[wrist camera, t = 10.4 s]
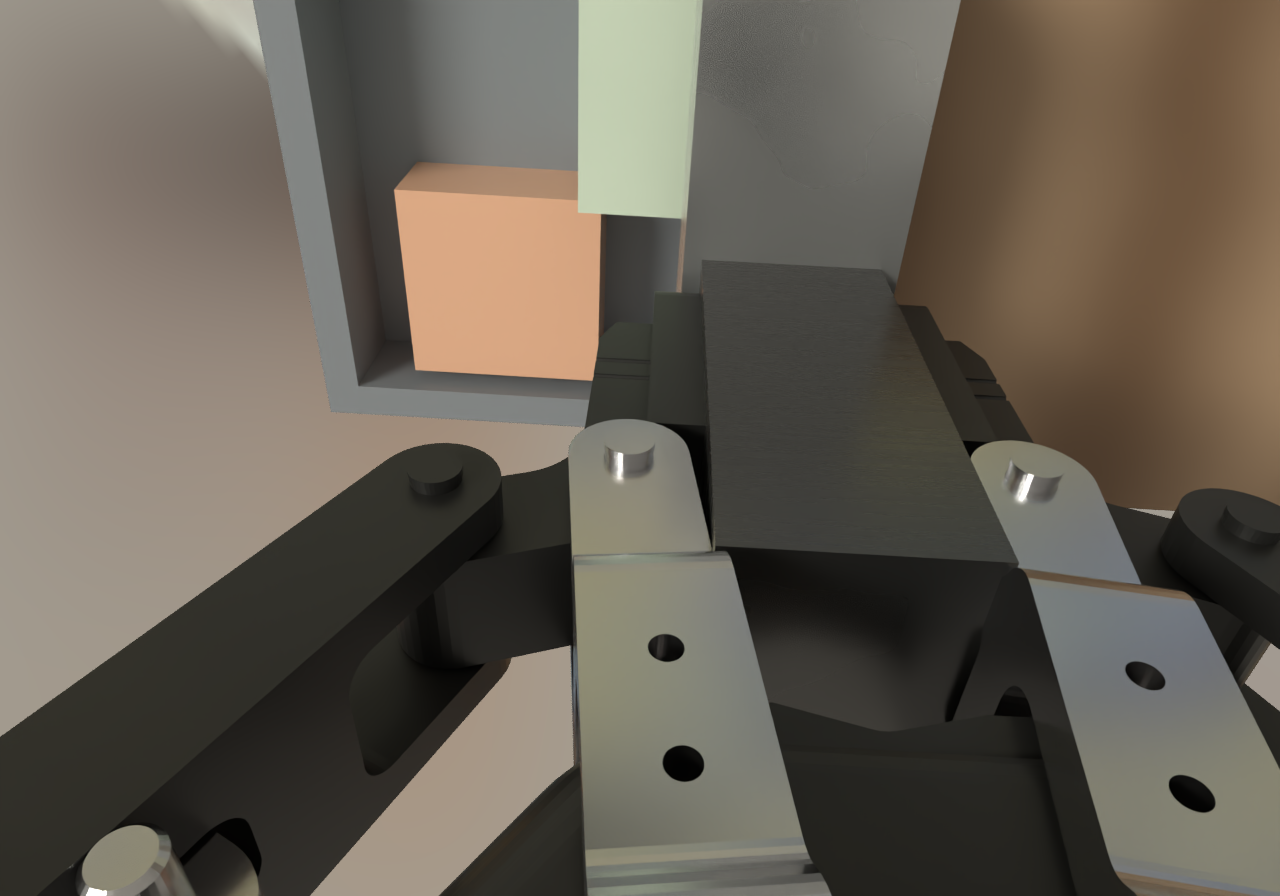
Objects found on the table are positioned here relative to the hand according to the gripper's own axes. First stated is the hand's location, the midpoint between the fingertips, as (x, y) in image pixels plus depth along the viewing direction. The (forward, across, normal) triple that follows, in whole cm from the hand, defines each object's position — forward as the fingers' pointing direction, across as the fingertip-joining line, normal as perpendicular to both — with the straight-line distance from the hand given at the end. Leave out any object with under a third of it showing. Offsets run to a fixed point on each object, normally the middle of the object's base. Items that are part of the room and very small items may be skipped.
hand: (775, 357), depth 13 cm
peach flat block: (+7, +5, +2) cm, 9 cm away
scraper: (+3, 0, 0) cm, 3 cm away
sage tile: (+7, +1, -3) cm, 7 cm away
